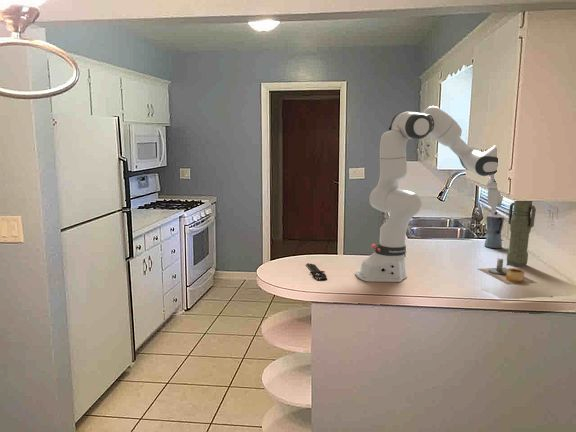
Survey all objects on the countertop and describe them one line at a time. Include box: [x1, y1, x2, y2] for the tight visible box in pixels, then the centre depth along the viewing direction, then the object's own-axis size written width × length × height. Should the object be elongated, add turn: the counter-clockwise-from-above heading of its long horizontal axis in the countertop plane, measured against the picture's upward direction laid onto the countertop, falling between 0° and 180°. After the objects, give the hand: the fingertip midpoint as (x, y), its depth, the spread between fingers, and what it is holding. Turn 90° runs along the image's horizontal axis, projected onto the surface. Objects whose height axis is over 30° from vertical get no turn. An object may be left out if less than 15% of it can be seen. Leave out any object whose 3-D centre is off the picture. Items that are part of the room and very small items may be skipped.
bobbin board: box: [477, 258, 538, 285], centre depth 211 cm, size 14×22×8 cm, turn 11°
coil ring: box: [506, 267, 526, 282], centre depth 206 cm, size 7×7×4 cm
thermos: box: [506, 200, 537, 267], centre depth 228 cm, size 9×12×35 cm
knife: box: [305, 262, 328, 282], centre depth 219 cm, size 26×7×2 cm, turn 6°
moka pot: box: [484, 211, 505, 249], centre depth 266 cm, size 10×15×20 cm, turn 2°
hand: (496, 209), depth 221 cm, fingers open, 8 cm apart
